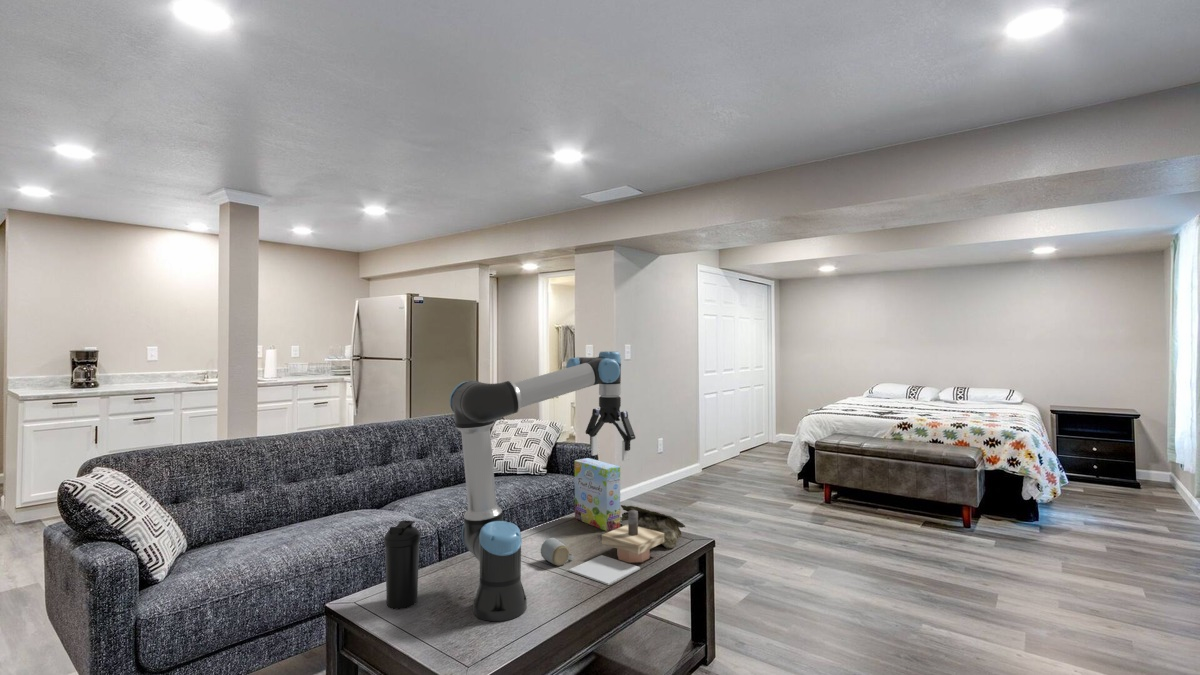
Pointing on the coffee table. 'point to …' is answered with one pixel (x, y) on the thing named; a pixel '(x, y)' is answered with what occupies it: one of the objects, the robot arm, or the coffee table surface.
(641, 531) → the lid
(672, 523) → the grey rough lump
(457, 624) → the coffee table surface
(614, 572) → the mat
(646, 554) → the bowl
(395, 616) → the coffee table surface
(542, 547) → the ceramic mug
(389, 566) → the water bottle
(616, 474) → the snack box
